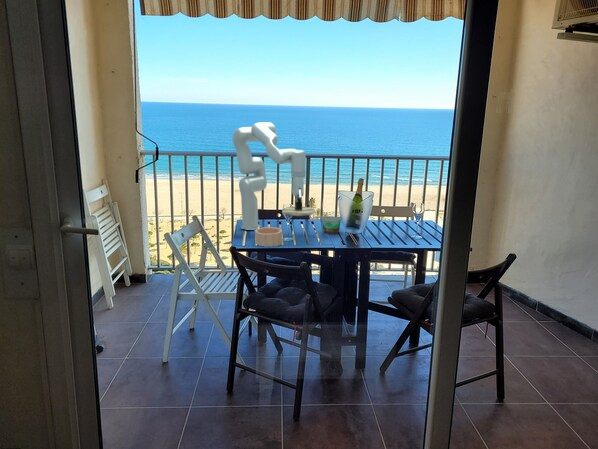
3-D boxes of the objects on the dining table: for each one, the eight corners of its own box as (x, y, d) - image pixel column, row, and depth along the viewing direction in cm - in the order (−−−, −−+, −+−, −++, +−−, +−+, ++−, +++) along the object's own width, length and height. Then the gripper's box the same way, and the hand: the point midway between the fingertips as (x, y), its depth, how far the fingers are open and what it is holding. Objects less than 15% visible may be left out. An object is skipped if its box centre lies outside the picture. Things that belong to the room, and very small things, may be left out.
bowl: (255, 239, 243) (254, 227, 242) (280, 238, 245) (280, 226, 243) (256, 247, 230) (255, 234, 228) (283, 246, 232) (282, 233, 230)
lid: (280, 209, 242) (280, 198, 241) (311, 208, 245) (311, 197, 243) (284, 216, 226) (284, 204, 225) (317, 215, 229) (317, 203, 227)
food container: (319, 234, 254) (319, 217, 251) (320, 231, 259) (320, 214, 257) (341, 234, 252) (341, 218, 249) (341, 232, 258) (342, 215, 255)
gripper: (289, 171, 238) (289, 205, 242) (293, 176, 222) (293, 212, 227) (302, 171, 239) (302, 204, 244) (308, 176, 223) (307, 211, 228)
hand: (298, 207), depth 235 cm, fingers closed on lid, 4 cm apart
